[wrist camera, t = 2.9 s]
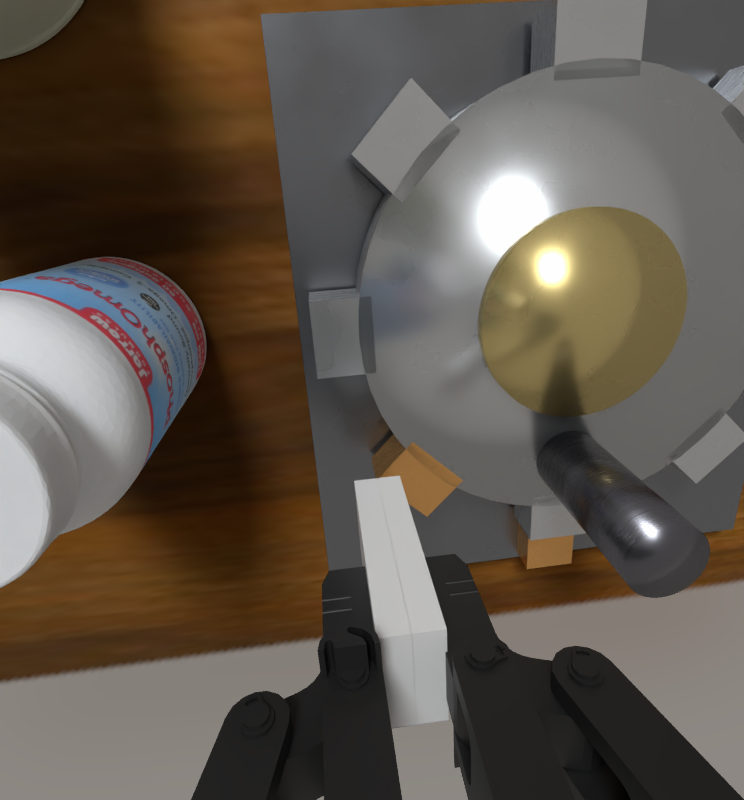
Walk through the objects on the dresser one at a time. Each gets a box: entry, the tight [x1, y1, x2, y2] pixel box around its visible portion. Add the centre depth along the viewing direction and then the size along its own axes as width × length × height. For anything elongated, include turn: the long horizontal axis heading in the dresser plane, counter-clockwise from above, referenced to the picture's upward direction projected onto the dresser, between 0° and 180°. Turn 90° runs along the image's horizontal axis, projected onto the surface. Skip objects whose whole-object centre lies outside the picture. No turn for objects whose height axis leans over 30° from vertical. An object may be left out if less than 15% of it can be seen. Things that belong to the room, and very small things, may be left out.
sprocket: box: [309, 0, 744, 598], centre depth 16 cm, size 18×18×8 cm
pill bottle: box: [0, 257, 206, 588], centre depth 14 cm, size 6×6×11 cm
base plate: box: [261, 0, 744, 571], centre depth 20 cm, size 19×21×2 cm
